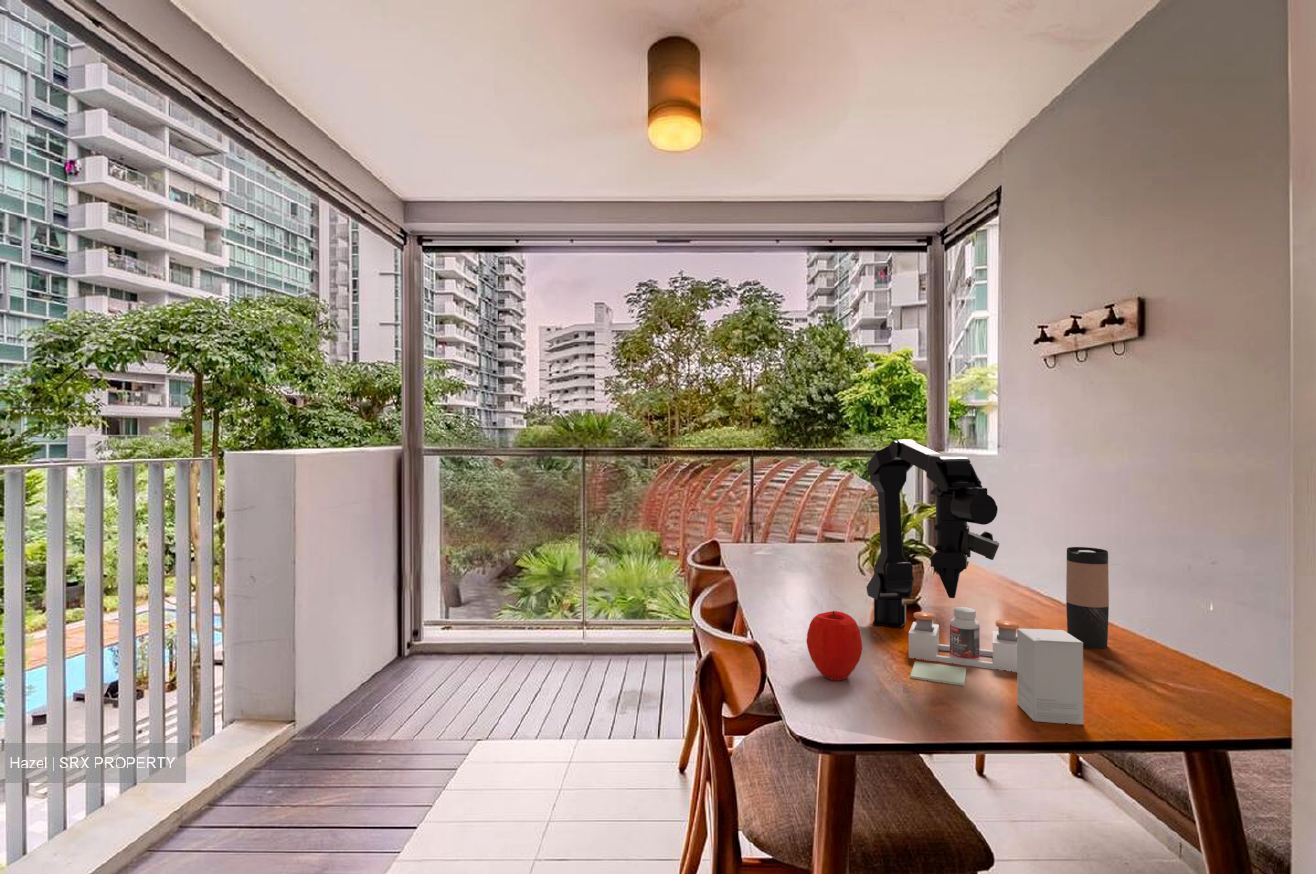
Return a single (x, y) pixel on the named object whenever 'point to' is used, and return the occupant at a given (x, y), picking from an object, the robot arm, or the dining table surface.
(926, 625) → the plunger left
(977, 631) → the pill bottle
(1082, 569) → the travel mug
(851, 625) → the apple
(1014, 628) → the plunger right
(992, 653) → the holder
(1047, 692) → the supplement box
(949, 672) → the mat
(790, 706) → the dining table surface
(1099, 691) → the dining table surface
